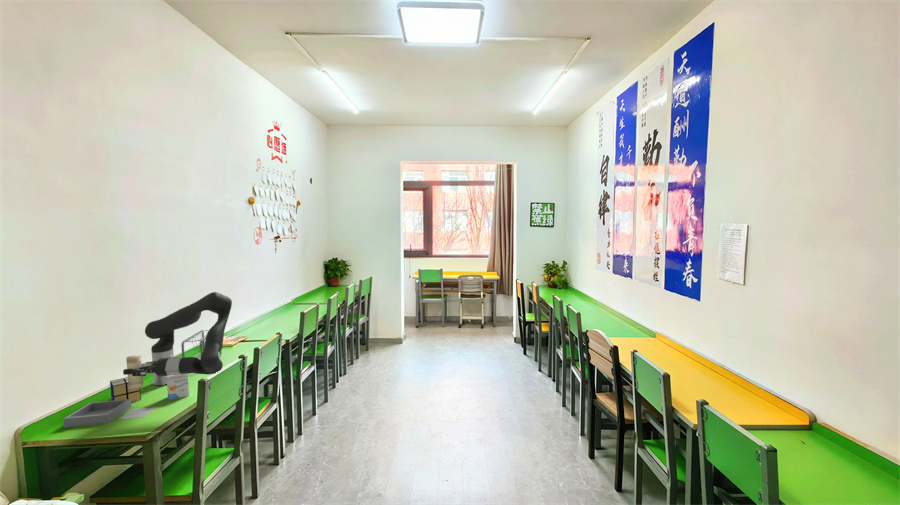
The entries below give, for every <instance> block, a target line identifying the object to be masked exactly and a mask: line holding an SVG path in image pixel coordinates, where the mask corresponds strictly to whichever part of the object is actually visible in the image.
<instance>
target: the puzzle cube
mask: <svg viewBox="0 0 900 505" xmlns="http://www.w3.org/2000/svg"><path fill="white" fill-rule="evenodd" d="M109 385H110V387H109V388H110V398H111V399H110V401H113V400H125V399H131V403H135V402H139V401H142V393H141V392H142V391H141V387H138V388H133V389H130V388H129V385H128V376H127V377H126V376H125V377H124V378H123V377H121V378H117V379H113V380H109Z"/></svg>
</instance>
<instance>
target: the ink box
mask: <svg viewBox="0 0 900 505" xmlns="http://www.w3.org/2000/svg"><path fill="white" fill-rule="evenodd" d="M189 384H190V383H189V374H179V375H171V376H167V385H166V389H167V400H168V401H172V400H177V399H181V398H185V397H189V396H190V385H189Z"/></svg>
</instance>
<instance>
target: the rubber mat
mask: <svg viewBox="0 0 900 505" xmlns="http://www.w3.org/2000/svg"><path fill="white" fill-rule="evenodd" d="M157 408H158V407H157V406H153V407H142V408H133V409H131V410H129V411H128V412H126V413H125V414H123V415H122V416H121V417H120V418H118V419H117V420H125V419H126V420H127V419H139V418H145V417H147V416H148V415H149V414H150V413H152V412H153V411H154V410H156V409H157Z"/></svg>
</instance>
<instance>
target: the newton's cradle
mask: <svg viewBox="0 0 900 505" xmlns="http://www.w3.org/2000/svg"><path fill="white" fill-rule="evenodd" d="M209 330H210V329H209ZM209 330H208V329H207V330H203V329H201V330H199V331H198V332H196V333H194V334H192V335H191V336H189V337H188V338H186V339H184V340H183V341H182V342H181V347H180V348H181V358H183V357H185V343H190V342H191V343H194V342H198V344H199V348H198V344H197V343H195V345H196V348H197V349H198V350H197V351H198V357H197V355H195V357H196V358H198V359H201V355H202V353H203V350H204V348H205V341H206V335H205V334H207V333H208V331H209ZM196 338H197V339H196ZM198 338H199V339H198ZM195 345H194V344H192V346H193V349H194V353H195V354H197V353H196V350H195ZM218 357H219V358H221V357H222V350H221V351H220V352H219V353H218Z"/></svg>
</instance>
